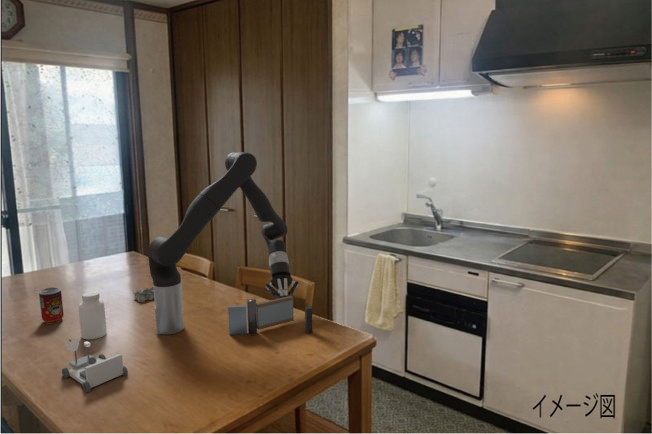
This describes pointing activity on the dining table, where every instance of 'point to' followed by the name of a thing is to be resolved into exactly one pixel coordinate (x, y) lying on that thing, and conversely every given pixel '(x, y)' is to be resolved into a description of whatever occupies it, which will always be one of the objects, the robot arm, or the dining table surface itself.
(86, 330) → the pill bottle
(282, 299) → the gate
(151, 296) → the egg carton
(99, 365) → the toy space rover
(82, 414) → the dining table surface
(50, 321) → the soda can
